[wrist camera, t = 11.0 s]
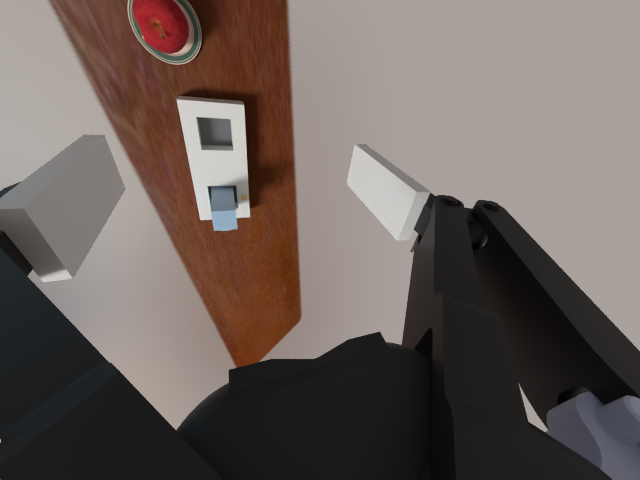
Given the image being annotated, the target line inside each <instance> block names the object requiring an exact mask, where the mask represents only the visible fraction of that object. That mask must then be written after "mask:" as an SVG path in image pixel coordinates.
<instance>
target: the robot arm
mask: <svg viewBox="0 0 640 480" xmlns="http://www.w3.org/2000/svg"><path fill="white" fill-rule="evenodd" d="M347 185H348V186H349V187H350V188H351V189H352V190H353V191H354V192H355V194H356V195H357V196H358V197H359V198H360V199H361V200H362V202H364V204H365V205H366V206H367V207H368V208H369V210H370V211H371V212H372V213H373V214H374V215H375V216H376V217H377V219H378V220H379V221H380V222H381V223H382V224H383V225H384V226H385V228H386V229H387V230H388V231H389V232H390V233H391V234H392V235H393V237H394V238H395V239H396V240H397V241H400V240H409V239H410V237H411V235H412V233H413V231H414V230H415V231H416V232H417V233H418V236H417V239H416V241H415V243H414V245H413V247H412V249H411V252H413V251H414V256H413V264H412V272H411V279H410V287H409V294H408V302H407V309H406V310H407V311H406V317H405V325H404V332H403V340H402V345H399V344H395V343H389V342H385V340H384V338H383V337H382V335H381V333H380V332H377V333H373V334H369V335H365V336H361V337H357V338H353V339H349V340H347V341H345V342H344V343H342V344H340V345H338V346H337V347H335V348H333V349H332V350H330V351H328V352H327V353H325V354H323V355H322V356H320V357H318V358H316V359H270V360H266V361H262V362H258V363H254V364H250V365H246V366H242V367H238V368H235V369H230V370H229V383H228V384H226V385H224V386H222V387H221V388H219V389H218V390H216V391H215V392H213V393H212V394H210V395H209V396H208V397H207V398H206V399H204V400H203V401H202V402H201V403H200V404H199V405H198V406H197V407H196V408H195V409H194V410H193V411H192V412H191V413H190V414H189V415H188V416H187V417H186V419H185V420H184V421H183V422H182V424H181V425H180V426H179V427H178V429H177V430H175V429H174V428H173V427H172V426H171V425H170V424H169V423H168V422H167V421H166V420H165V419H164V417H162V415H161V414H160V413H159V412H158V411H157V410H156V409H155V408H154V407H153V406H152V405H151V404H150V403H149V402H148V401H147V400H146V399H145V398H144V396H142V394H141V393H140V392H139V391H138V390H137V389H136V388H135V387H134V386H133V385H132V384H131V383H130V382H129V381H128V380H127V379H126V378H125V377H124V376H123V374H122V373H120V371H119V370H118V369H117V368H116V367H115V366H114V365H112V363H109V362H108V361H107V360H106V359H105V358H104V357H103V356H102V355H101V354H100V353H99V351H98V350H97V349H96V348H95V347H94V346H93V345H92V344H91V343H90V342H89V341H88V340H87V339H86V338H85V337H84V336H83V335H82V334H81V333H80V331H79V330H78V329H77V328H76V327H75V326H74V325H73V324H72V323H71V322H70V321H69V320H68V319H67V318H66V317H65V316H64V315H63V314H62V313H61V311H60V310H59V309H58V308H57V307H56V306H55V305H54V304H53V303H52V302H51V301H50V300H49V299H48V298H47V297H46V296H45V295H44V294H43V293H42V291H41V290H40V289H39V288H38V287H37V286H36V285H35V284H34V283H33V282H32V281H31V280H30V279H29V278H28V277H27V276H28V274H29V273H30V272H31V271H32V269H33V270H34V271H35V272H36V274H37V275H38V276H39V277H40V279H41V280H42V281H43V282H47V281H56V280H65V279H73V278H74V276H75V274H76V273H77V271H78V269H79V267H80V266H81V264H82V262H83V260H84V259H85V257H86V255H87V254H88V252H89V250H90V248H91V247H92V245H93V243H94V242H95V240H96V238H97V237H98V235H99V233H100V231H101V230H102V228H103V226H104V225H105V223H106V221H107V220H108V218H109V216H110V214H111V213H112V211H113V209H114V208H115V206H116V204H117V202H118V201H119V199H120V197H121V196H122V194H123V192H124V191H125V187H124V184H123V182H122V179H121V176H120V174H119V172H118V169H117V166H116V164H115V161H114V158H113V156H112V153H111V151H110V148H109V146H108V143H107V141H106V138H105V136H104V135H83V136H82V137H80V138H79V139H78V140H76V141H75V142H74V143H72V144H71V145H70V146H68V147H67V148H66V149H64V150H63V151H62V152H60V153H59V154H58V155H57V156H55V157H54V158H53V159H51V160H50V161H48V162H47V163H46V164H44V165H43V166H42V167H40V168H39V169H38V170H37V171H35V172H34V173H33V174H31V175H30V176H29V177H28V178H26V179H25V180H23V181H22V182H19V183H17V184H14V185H12V186H9V187H7V188H4V189H3V190H2V191H0V439H1V443H0V480H640V351H639V350H638V349H637V348H636V347H635V346H634V345H633V344H632V343H631V342H630V341H629V340H628V338H626V336H625V335H624V334H623V333H622V332H621V331H620V330H619V329H618V328H617V327H616V326H615V325H614V324H613V323H612V322H611V320H609V318H607V316H606V315H605V314H604V313H603V312H602V311H601V310H600V309H599V308H598V307H597V306H596V305H595V304H594V303H593V302H592V300H591V299H590V298H589V297H588V296H587V295H586V294H585V293H584V292H583V291H582V290H581V289H580V288H579V287H578V286H577V285H576V284H575V283H574V281H572V279H571V278H570V277H569V276H568V275H567V274H566V273H565V272H564V271H563V270H562V269H561V268H560V267H559V266H558V265H557V264H556V263H555V261H554V260H553V259H552V258H551V257H550V256H549V255H548V254H547V253H546V252H545V251H544V250H543V249H542V248H541V247H540V246H539V245H538V244H537V242H536V241H535V240H533V238H532V237H531V236H530V235H529V234H528V233H527V232H526V231H525V230H524V229H523V228H522V227H521V226H520V225H519V224H518V222H517V221H516V220H515V219H514V218H513V217H512V216H511V215H510V214H509V213H508V212H507V211H506V210H505V209H504V208H503V207H501V206H500V205H498V204H497V203H495V202H492V201H486V200H478V201H477V203H476V204H475V206H474V207H473V209H470V208H464V205H463V203H462V202H461V201H459V200H457V199H456V198H454V197H451V196H445V195H438V196H434V195H433V194H432V193H430V191H429V190H428V189H426V188H425V187H423V186H422V185H421V184H419V183H418V182H417V181H415V180H414V179H412V178H411V177H410V176H408V175H407V174H406V173H404V172H403V171H401V170H400V169H399V168H397V167H396V166H394V165H393V164H392V163H390V162H389V161H387V160H386V159H385V158H383V157H382V156H381V155H379V154H378V153H377V152H375V151H374V150H372V149H371V148H370V147H368V146H367V145H366V144H355V146H354V151H353V156H352V160H351V165H350V170H349V175H348V179H347ZM485 242H486V243H485ZM484 244H485V245H484ZM483 245H484V246H483ZM518 382H519V384H520V386H521V388H522V390H523V392H524V394H525V396H526V397H527V399H528V400H529V402H530V404H531V405H532V407H533V408H534V410H535V412H536V413H537V415H538V416H539V418H540V419H541V420H542V422H543V423H544V425H545V426H546V427H547V429H548V430H549V431H547V432H543V431H542V430H540V429H539V428H537V427H536V426H534V425H533V424H531V423H529V422H528V419H527V415H526V411H525V407H524V403H523V399H522V395H521V392H520V388H519V384H518Z"/></svg>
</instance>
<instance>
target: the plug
mask: <svg viewBox="0 0 640 480" xmlns="http://www.w3.org/2000/svg"><path fill="white" fill-rule="evenodd" d="M211 215H212V221H213V227H214V231H217V230H220V231H226V230H232V229H237V219H236V208H235V200H234V192H233V186H212V190H211Z"/></svg>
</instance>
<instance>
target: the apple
mask: <svg viewBox="0 0 640 480" xmlns="http://www.w3.org/2000/svg"><path fill="white" fill-rule="evenodd" d="M128 16H129V20H130V24H131V26H132V29H133V31H134V33H135V35H136V37H137V38H138V40H139V41H140V42H141V44H142V45H143V46H144V47H145V48H146V49H147V50H148V51H149V52H150V53H151V54H152V55H154V56H155V57H157V58H158V59H160V60H162V61H164V62H167V63H171V64H184V63H187V62H189V61H191V60H192V59H193V58H195V56H196V55H197V53H198V52H199V49H200V46H201V40H202V35H201V27H200V23H199V20H198V17H197V15H196V13H195V11H194V9H193V8H192V6H191V5H190V3H189V2H188V1H187V0H128Z"/></svg>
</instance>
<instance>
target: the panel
mask: <svg viewBox="0 0 640 480" xmlns="http://www.w3.org/2000/svg"><path fill="white" fill-rule="evenodd" d="M177 104H178V109H179V114H180V119H181V124H182V129H183V134H184V139H185V144H186V149H187V154H188V159H189V164H190V169H191V174H192V179H193V185H194V190H195V195H196V200H197V205H198V210H199V215H200V220H211V219H212V215H211V190H212V186H233V192H234V200H235V208H236V218H243V217H250V207H249V188H248V169H247V149H246V130H245V111H244V103H243V101H235V100H223V99H212V98H200V97H189V96H178V98H177Z"/></svg>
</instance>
